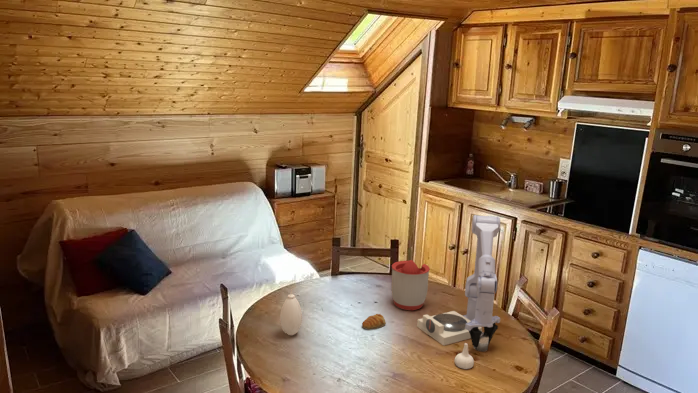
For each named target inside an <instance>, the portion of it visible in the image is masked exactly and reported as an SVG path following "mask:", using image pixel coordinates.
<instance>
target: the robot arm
mask: <svg viewBox="0 0 698 393" xmlns="http://www.w3.org/2000/svg"><path fill="white" fill-rule="evenodd" d="M471 221H472V222H471V234H474V235H475V236H476V248H475V249H476V251H475V261H474V262H475V263H474V270H473V271H474V272H473V274H471V275H469V276H467V278H466V282H465V286H464V289H465V290H464V295H465V297H466V298H467V309H466V314H464V315H462V316H464V317H465V318H467V319H469V320H470V322H469V323H466V325H465V329H467V330H468V331H469V333H470V336H471V338H470V339H471V345H472V346H474V347H478V344H479V338H480V335H481V334H482V332H484V333H487V334H488V335H489V341H488V345H489V344H490V343H491V341H492V338H493V336H494V334H495V332H496V331H497V330H498V329H499V326H498V324H500V322H501V317H499V316H498V315H494V316H493V312H494V302H495V294H496V293H497V290H498V278H497V274H496V259H495V258H494V256H492V254H493V245H494V238H495V237H497V236H498V234H499V232H500V231H501V230H500V229H501V217H499V215H498V216H492V215H479V214H474V215H473V216H472V220H471ZM478 327H482V328H483V331H482V332H481V331H480V330H479V329H478Z"/></svg>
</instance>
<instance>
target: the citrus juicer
mask: <svg viewBox="0 0 698 393" xmlns="http://www.w3.org/2000/svg"><path fill="white" fill-rule="evenodd" d="M391 270H392V271H391V286H390V287H391V289H390V290H391V295H392V300H393V303H394V305H395V307H397V308H399V309H402V310H405V311H415V310H419V309H421V308H422V307H423V305H424V304H425V300H426V298H427V296H428V295H427V294H428V287H429V276H430V274H429V273H430V266H429V265H427V264H425V263H423V264H422V265H421V267H419V266H418V265H417V264H416V262H415V261H414V260H413V259H409V260H400V261H396V262H394V263H392V265H391Z"/></svg>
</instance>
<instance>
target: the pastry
mask: <svg viewBox="0 0 698 393" xmlns="http://www.w3.org/2000/svg"><path fill="white" fill-rule="evenodd" d="M385 325H387V321H386V320H385V317H384V315H383V314H381V313H375V314H373V315H370V316H368V317H367V318H365V319H364V321H362V323H361V327H362V328H363V329H366V330H376V329H380V328H383V327H385Z"/></svg>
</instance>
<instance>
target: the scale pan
mask: <svg viewBox="0 0 698 393" xmlns="http://www.w3.org/2000/svg"><path fill="white" fill-rule="evenodd" d="M435 315H436V316H434V315H433V316H434V317H433V319H435V320H436V321H438V322H439V323H441V324H442V325H444V330H445V331H462V330H464V329H465V325H466V323H467V321H466V320H465V319H464V318H462V317H460V316H457V315H454V314H443V313H439V314H435Z"/></svg>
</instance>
